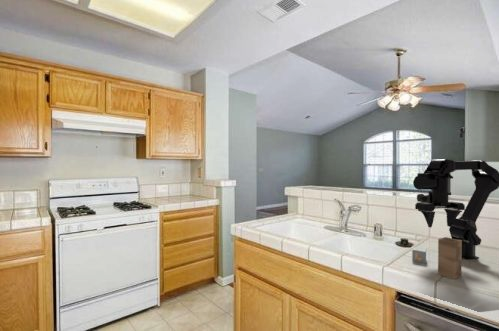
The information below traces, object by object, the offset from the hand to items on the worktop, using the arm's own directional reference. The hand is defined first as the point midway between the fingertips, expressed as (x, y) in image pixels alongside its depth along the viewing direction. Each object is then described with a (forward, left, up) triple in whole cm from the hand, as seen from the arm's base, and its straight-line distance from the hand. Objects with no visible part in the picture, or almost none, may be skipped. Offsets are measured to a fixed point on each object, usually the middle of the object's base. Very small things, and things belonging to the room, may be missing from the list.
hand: (439, 226), depth 111 cm
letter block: (+10, +1, -13) cm, 17 cm away
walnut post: (+11, +15, -13) cm, 23 cm away
